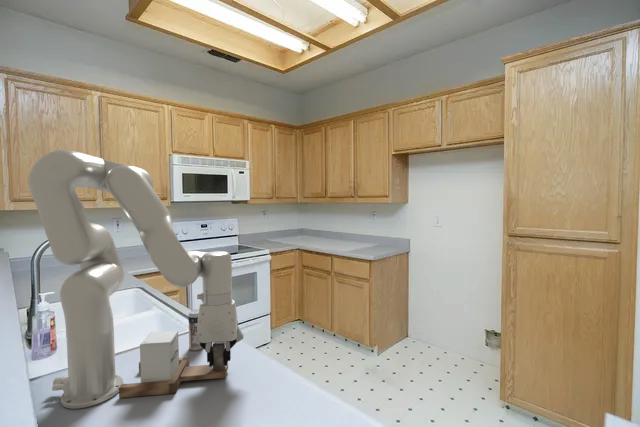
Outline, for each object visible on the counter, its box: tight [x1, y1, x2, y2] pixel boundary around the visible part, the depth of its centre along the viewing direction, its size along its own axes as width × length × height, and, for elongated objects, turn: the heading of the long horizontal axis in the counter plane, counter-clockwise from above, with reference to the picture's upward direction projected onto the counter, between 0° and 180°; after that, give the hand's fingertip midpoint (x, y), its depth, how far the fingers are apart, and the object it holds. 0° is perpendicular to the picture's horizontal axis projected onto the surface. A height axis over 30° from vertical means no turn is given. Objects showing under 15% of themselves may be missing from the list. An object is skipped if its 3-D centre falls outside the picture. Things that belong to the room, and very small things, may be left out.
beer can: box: [187, 309, 203, 351], centre depth 103 cm, size 5×5×12 cm
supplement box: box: [139, 330, 180, 383], centre depth 83 cm, size 7×7×13 cm
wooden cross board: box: [118, 342, 229, 399], centre depth 85 cm, size 24×13×9 cm, turn 98°
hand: (219, 363), depth 87 cm, fingers closed on wooden cross board, 3 cm apart
